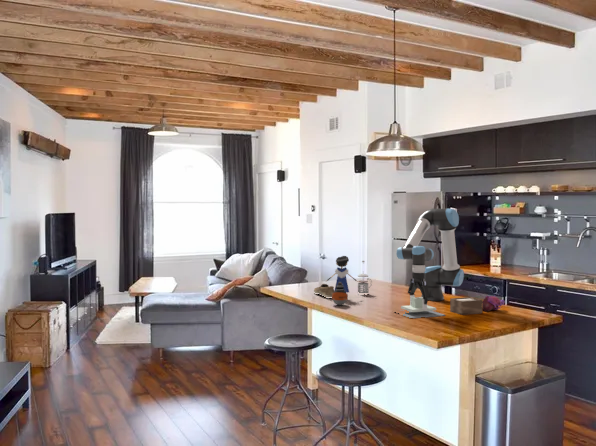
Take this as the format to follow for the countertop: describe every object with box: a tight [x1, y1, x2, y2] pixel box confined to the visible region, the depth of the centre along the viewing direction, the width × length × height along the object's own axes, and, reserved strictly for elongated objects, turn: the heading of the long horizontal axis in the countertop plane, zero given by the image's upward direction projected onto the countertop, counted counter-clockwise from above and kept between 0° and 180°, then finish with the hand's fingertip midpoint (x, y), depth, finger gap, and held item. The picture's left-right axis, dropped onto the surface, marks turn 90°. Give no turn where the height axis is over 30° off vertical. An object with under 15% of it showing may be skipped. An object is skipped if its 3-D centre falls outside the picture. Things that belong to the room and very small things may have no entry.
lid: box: [400, 296, 437, 312], centre depth 307 cm, size 12×16×7 cm
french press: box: [357, 260, 373, 293], centre depth 378 cm, size 10×12×25 cm
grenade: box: [331, 282, 349, 306], centre depth 335 cm, size 11×10×15 cm
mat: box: [402, 310, 446, 319], centre depth 307 cm, size 20×24×1 cm
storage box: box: [449, 296, 484, 316], centre depth 312 cm, size 11×15×8 cm
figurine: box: [325, 255, 359, 293], centre depth 361 cm, size 23×9×30 cm, turn 85°
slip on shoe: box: [313, 283, 335, 297], centre depth 373 cm, size 30×11×9 cm, turn 13°
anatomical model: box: [482, 294, 505, 312], centre depth 319 cm, size 12×10×15 cm
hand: (418, 307), depth 307 cm, fingers closed on lid, 12 cm apart
